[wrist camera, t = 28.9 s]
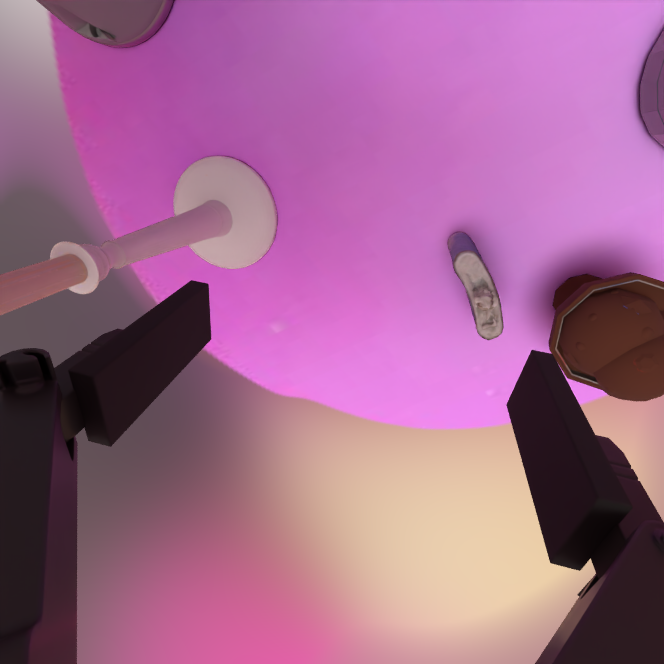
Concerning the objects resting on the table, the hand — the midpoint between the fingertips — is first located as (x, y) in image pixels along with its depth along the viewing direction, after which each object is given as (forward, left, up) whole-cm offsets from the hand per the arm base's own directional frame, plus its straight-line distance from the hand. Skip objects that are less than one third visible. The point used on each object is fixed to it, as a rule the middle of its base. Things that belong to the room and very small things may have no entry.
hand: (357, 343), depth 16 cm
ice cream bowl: (+18, +12, -30) cm, 37 cm away
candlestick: (-12, -16, -30) cm, 36 cm away
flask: (+9, +4, -30) cm, 32 cm away
